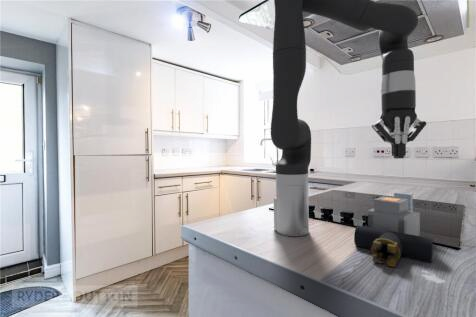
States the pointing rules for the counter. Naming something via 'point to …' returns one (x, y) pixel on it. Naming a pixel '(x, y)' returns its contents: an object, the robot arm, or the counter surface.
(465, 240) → the counter surface
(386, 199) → the plunger
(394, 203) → the housing
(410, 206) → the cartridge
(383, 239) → the pipe connector
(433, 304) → the counter surface
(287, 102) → the robot arm
